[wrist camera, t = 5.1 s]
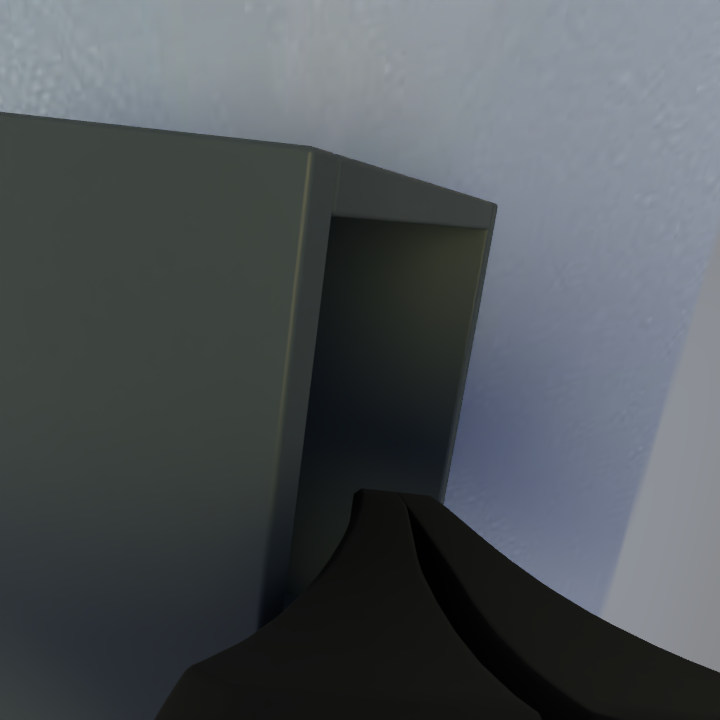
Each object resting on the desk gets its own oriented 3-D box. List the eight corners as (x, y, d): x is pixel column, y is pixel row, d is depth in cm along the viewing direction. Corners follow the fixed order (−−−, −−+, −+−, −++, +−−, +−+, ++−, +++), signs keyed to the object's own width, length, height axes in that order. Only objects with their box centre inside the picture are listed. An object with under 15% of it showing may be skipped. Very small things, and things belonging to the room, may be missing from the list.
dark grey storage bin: (498, 204, 15) (314, 146, 6) (418, 646, 18) (208, 1088, 8) (208, 166, 17) (-243, 84, 8) (178, 556, 20) (-181, 820, 11)
